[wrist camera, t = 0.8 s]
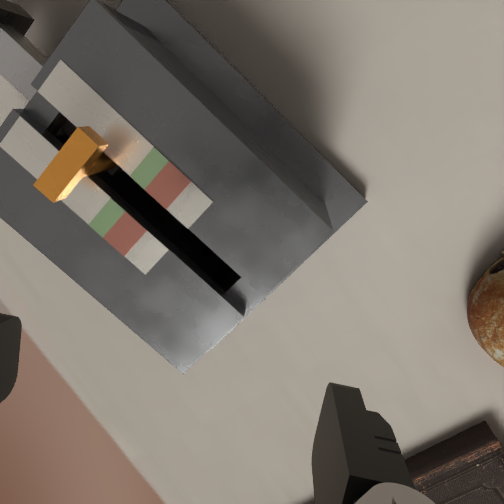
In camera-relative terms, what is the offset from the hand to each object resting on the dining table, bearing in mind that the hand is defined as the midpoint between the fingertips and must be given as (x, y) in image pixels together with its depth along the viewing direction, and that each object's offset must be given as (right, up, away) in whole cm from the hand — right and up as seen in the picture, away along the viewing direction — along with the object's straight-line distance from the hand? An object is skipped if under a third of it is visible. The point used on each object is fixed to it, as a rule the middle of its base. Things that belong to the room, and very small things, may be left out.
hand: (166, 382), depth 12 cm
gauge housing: (-3, +8, +21) cm, 23 cm away
